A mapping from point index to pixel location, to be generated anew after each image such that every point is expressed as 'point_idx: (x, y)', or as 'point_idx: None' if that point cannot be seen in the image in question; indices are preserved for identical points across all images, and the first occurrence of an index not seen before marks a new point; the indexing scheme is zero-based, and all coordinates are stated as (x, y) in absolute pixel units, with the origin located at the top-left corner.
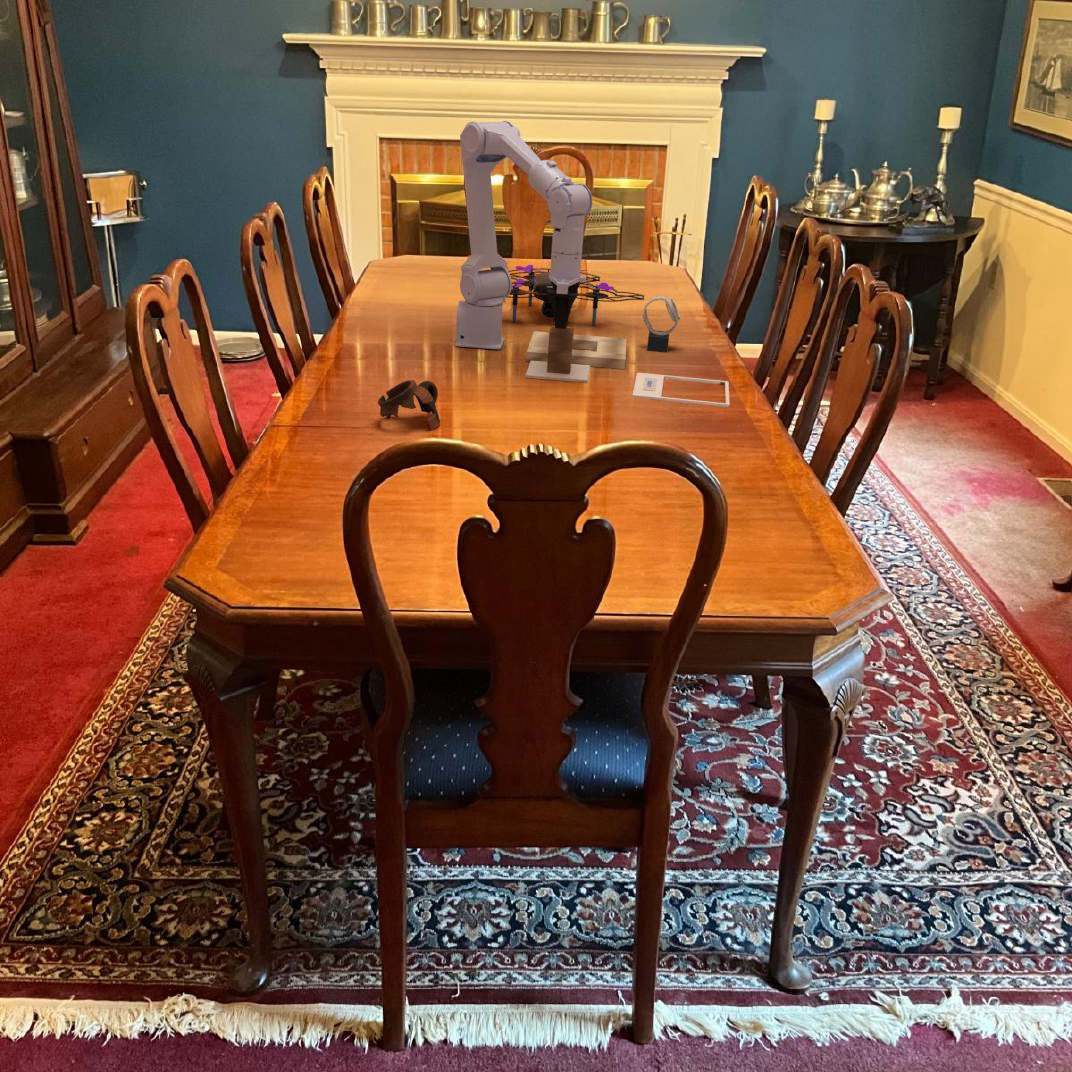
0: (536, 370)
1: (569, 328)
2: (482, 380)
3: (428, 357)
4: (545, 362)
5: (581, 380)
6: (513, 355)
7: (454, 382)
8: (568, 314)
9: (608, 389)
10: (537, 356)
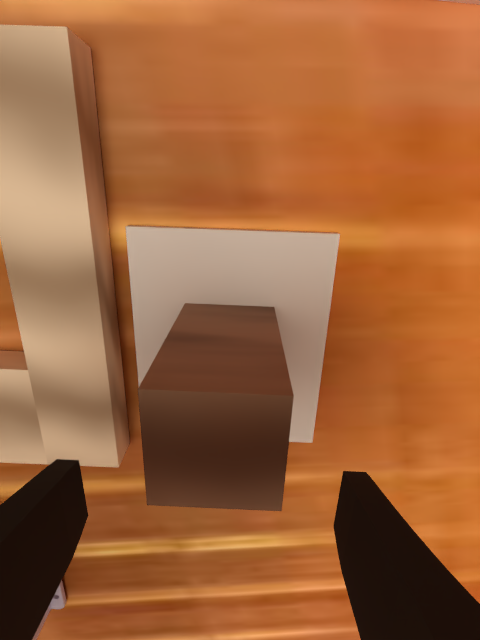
0: None
1: (158, 415)
2: None
3: (184, 637)
4: None
5: (335, 259)
6: None
7: None
8: (452, 581)
9: (420, 138)
10: (120, 424)
